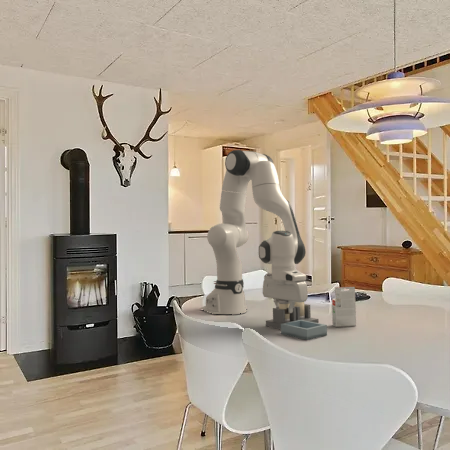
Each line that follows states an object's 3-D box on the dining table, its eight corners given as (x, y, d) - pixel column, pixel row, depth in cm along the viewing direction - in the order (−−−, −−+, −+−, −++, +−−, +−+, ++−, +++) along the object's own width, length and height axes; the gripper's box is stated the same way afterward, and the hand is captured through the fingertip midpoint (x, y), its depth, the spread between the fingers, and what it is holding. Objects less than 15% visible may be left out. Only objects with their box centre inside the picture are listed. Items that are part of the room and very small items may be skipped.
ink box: (332, 325, 172) (331, 286, 172) (352, 324, 173) (351, 285, 173) (335, 327, 169) (334, 287, 169) (356, 326, 170) (355, 286, 170)
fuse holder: (265, 325, 174) (265, 307, 174) (295, 319, 184) (294, 302, 184) (289, 331, 164) (288, 311, 164) (318, 324, 174) (318, 305, 174)
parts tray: (281, 333, 160) (280, 323, 160) (300, 329, 167) (300, 319, 167) (307, 340, 151) (307, 329, 151) (327, 335, 157) (326, 324, 157)
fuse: (291, 318, 177) (291, 297, 177) (299, 316, 179) (298, 296, 179) (299, 319, 174) (299, 298, 174) (306, 318, 176) (306, 297, 176)
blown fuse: (276, 321, 172) (276, 299, 172) (284, 319, 174) (284, 298, 174) (284, 323, 169) (284, 301, 169) (292, 321, 171) (291, 299, 171)
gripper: (258, 273, 178) (259, 309, 178) (297, 277, 162) (298, 316, 162) (270, 271, 182) (271, 307, 182) (309, 275, 166) (310, 314, 166)
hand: (284, 311), depth 171 cm, fingers closed on blown fuse, 4 cm apart
